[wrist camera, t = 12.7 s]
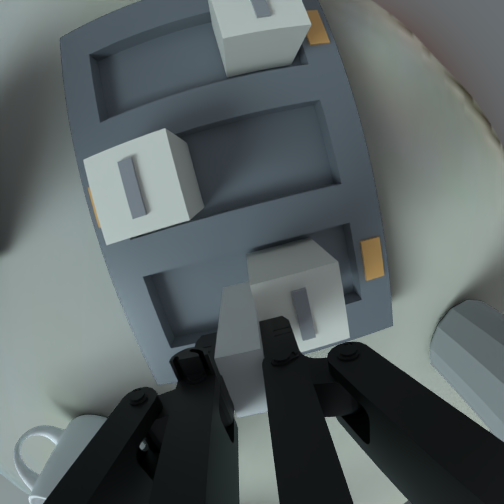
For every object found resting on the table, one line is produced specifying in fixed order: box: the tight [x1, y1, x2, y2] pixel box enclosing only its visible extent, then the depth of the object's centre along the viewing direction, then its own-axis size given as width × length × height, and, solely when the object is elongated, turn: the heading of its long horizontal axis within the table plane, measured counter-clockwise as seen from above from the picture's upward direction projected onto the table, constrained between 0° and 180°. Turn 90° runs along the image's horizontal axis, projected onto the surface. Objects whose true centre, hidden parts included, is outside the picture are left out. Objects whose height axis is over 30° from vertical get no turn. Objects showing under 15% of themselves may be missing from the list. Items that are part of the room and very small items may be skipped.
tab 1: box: [83, 128, 204, 245], centre depth 14 cm, size 4×4×6 cm
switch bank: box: [60, 0, 393, 385], centre depth 17 cm, size 24×16×3 cm, turn 14°
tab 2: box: [208, 0, 312, 77], centre depth 12 cm, size 4×4×6 cm
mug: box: [14, 415, 145, 504], centre depth 18 cm, size 9×12×11 cm
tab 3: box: [246, 237, 350, 352], centre depth 16 cm, size 4×4×6 cm
